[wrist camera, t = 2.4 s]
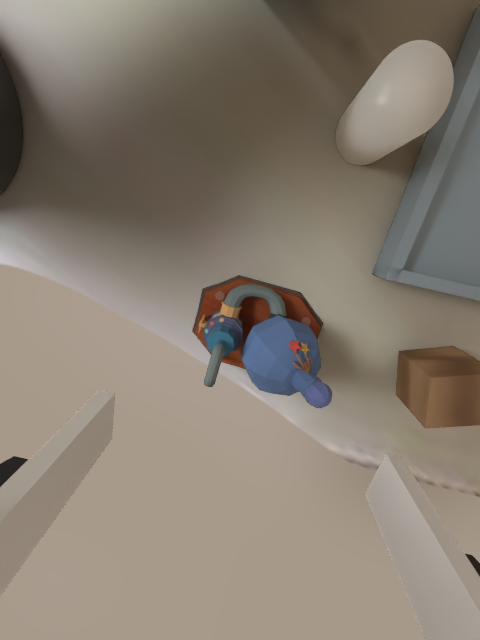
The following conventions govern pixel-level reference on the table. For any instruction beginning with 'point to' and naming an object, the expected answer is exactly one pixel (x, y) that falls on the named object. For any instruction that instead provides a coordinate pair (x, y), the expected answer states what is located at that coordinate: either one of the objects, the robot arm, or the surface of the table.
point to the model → (263, 337)
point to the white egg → (396, 102)
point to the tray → (443, 194)
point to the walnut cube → (440, 386)
